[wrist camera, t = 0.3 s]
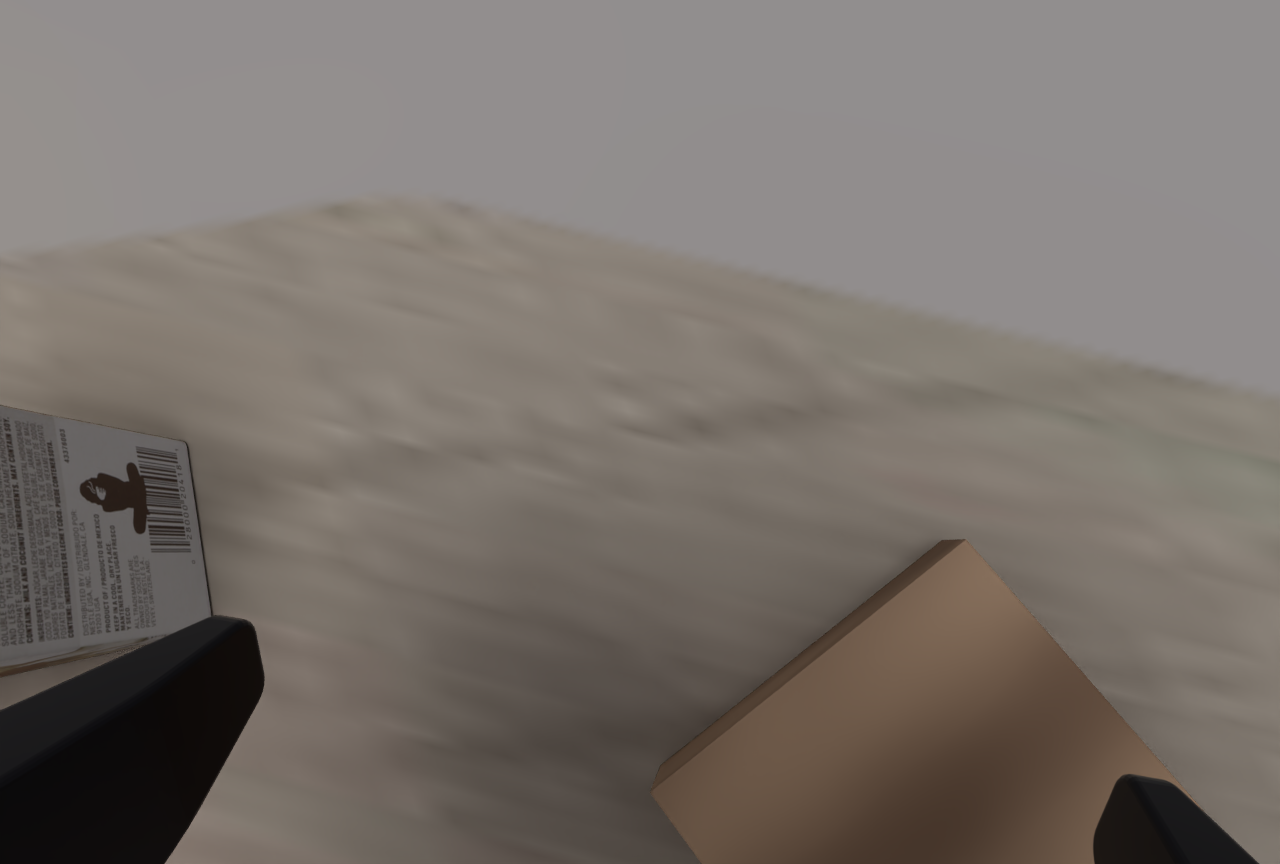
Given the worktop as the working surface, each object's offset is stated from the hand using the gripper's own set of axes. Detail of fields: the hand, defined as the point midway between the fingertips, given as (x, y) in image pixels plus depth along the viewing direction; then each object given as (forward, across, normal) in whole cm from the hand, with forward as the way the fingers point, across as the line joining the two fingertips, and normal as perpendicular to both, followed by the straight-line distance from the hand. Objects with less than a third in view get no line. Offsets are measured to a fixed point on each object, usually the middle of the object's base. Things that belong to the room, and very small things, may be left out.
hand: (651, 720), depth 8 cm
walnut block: (+11, -6, +12) cm, 17 cm away
